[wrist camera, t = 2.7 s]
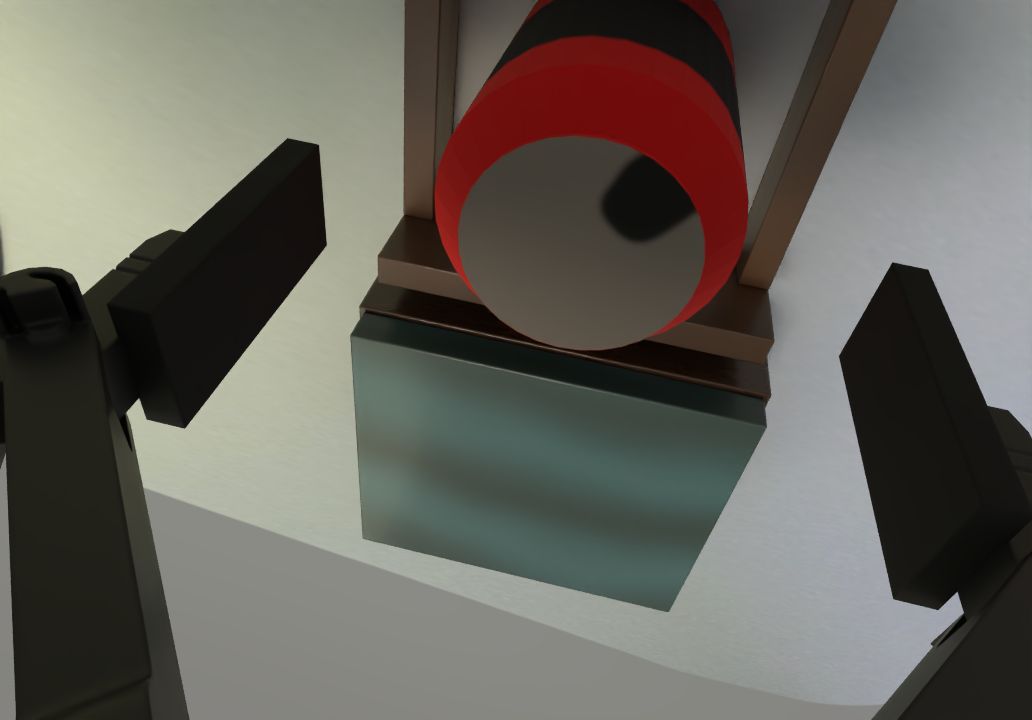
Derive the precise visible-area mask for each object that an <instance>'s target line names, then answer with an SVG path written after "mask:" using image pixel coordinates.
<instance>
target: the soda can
mask: <svg viewBox="0 0 1032 720" xmlns="http://www.w3.org/2000/svg"><path fill="white" fill-rule="evenodd" d="M434 196H435V213H436V222H437V225H438V229H439V233H440V236H441V240H442V244H443V246H444V248H445V250H446V252H447V254H448V256H449V258H450V261H451V263H452V265H453V267H454V268H455V270H456V271H457V272H458V274H459V275H460V277H461V278H462V279H463V281H464V282H465V283H466V285H467V286H468V287H469V289H470V290H471V291H472V292H473V293H474V294H476V295H477V296H478V297H479V298H480V300H481V301H482V302H483V304H484V305H485V306H486V307H487V308H488V309H489V310H490V311H491V312H492V313H493V314H494V315H495V316H496V317H498V318H499V319H500V320H501V321H503V322H504V323H505V324H507V325H508V326H510V327H511V328H513V329H514V330H516V331H517V332H519V333H521V334H523V335H525V336H528V337H530V338H532V339H534V340H536V341H539V342H542V343H545V344H549V345H552V346H555V347H560V348H567V349H573V350H605V349H611V348H617V347H623V346H626V345H629V344H632V343H635V342H638V341H641V340H643V339H645V338H647V337H650V336H653V335H656V334H659V333H662V332H665V331H667V330H669V329H670V328H672V327H674V326H676V325H678V324H680V323H682V322H683V321H685V320H687V319H689V318H690V317H691V316H692V315H694V314H695V313H696V312H697V311H699V310H700V309H701V308H702V307H704V306H705V305H706V304H707V303H709V302H710V300H711V299H712V298H713V297H714V296H715V295H716V293H717V292H718V291H719V290H720V289H721V287H722V286H723V285H724V284H725V283H726V282H727V280H728V278H729V276H730V274H731V272H732V270H733V269H734V267H735V265H736V263H737V261H738V259H739V257H740V254H741V250H742V247H743V243H744V240H745V236H746V233H747V222H748V192H747V183H746V174H745V164H744V155H743V145H742V136H741V127H740V117H739V108H738V98H737V89H736V80H735V70H734V61H733V53H732V47H731V42H730V36H729V31H728V29H727V27H726V24H725V22H724V19H723V17H722V14H721V12H720V10H719V9H718V7H717V6H716V4H715V3H714V1H713V0H538V2H537V3H536V5H535V6H534V8H533V9H532V11H531V12H530V14H529V15H528V17H527V18H526V20H525V21H524V23H523V24H522V26H521V28H520V29H519V31H518V32H517V34H516V35H515V37H514V38H513V40H512V42H511V43H510V45H509V46H508V48H507V49H506V51H505V53H504V54H503V56H502V57H501V59H500V60H499V62H498V63H497V65H496V67H495V68H494V70H493V71H492V73H491V74H490V76H489V78H488V79H487V81H486V82H485V84H484V85H483V87H482V89H481V90H480V92H479V93H478V95H477V96H476V98H475V99H474V101H473V103H472V104H471V106H470V107H469V109H468V110H467V112H466V114H465V115H464V117H463V118H462V120H461V121H460V123H459V125H458V126H457V128H456V129H455V131H454V132H453V134H452V135H451V137H450V139H449V141H448V143H447V146H446V148H445V151H444V153H443V156H442V158H441V161H440V163H439V166H438V172H437V179H436V185H435V191H434Z"/></svg>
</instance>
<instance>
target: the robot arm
mask: <svg viewBox="0 0 1032 720" xmlns="http://www.w3.org/2000/svg"><path fill="white" fill-rule="evenodd" d="M326 246H327V241H326V229H325V216H324V203H323V190H322V178H321V165H320V152H319V145H318V144H313V143H308V142H303V141H298V140H294V139H289V138H287V139H286V140H285V141H284V142H283V143H282V144H281V145H280V146H279V147H277V148H276V149H275V150H274V151H273V152H272V153H271V154H270V155H269V156H268V157H267V158H265V159H264V160H263V161H262V162H261V163H260V164H259V165H258V166H257V167H256V168H255V169H253V170H252V171H251V172H250V173H249V174H248V175H247V176H246V177H245V178H244V179H242V180H241V181H240V182H239V183H238V184H237V185H236V186H235V187H234V188H233V189H232V190H230V191H229V192H228V193H227V194H226V195H225V196H224V197H223V198H222V199H221V200H220V201H218V202H217V203H216V204H215V205H214V206H213V207H212V208H211V209H210V210H209V211H207V212H206V213H205V214H204V215H203V216H202V217H201V218H200V219H199V220H198V221H197V222H195V223H194V224H193V225H192V226H191V227H190V228H189V229H188V230H187V231H186V232H181V231H176V230H172V229H170V230H168V231H166V232H163V233H161V234H159V235H157V236H154V237H152V238H150V239H148V240H146V241H145V242H144V243H142V244H141V245H140V246H139V247H138V248H137V249H136V250H134V251H133V252H132V253H131V254H130V257H129V258H127V257H126V258H125V259H124V260H123V261H122V262H120V263H119V264H118V265H117V266H116V270H114V269H112V270H111V271H110V272H109V273H108V274H107V275H105V276H104V277H103V278H102V279H101V280H100V281H99V282H97V283H96V284H95V285H94V286H93V287H92V288H90V289H89V290H88V291H87V292H86V293H85V294H84V295H82V294H81V291H80V289H79V286H78V283H77V281H76V280H75V278H74V276H73V275H72V274H70V273H68V272H66V271H64V270H62V269H58V268H51V267H37V268H27V269H23V270H19V271H15V272H12V273H9V274H7V275H5V276H3V277H1V278H0V468H1V465H2V462H3V459H4V456H5V453H6V468H7V492H8V493H7V494H8V520H9V545H10V570H11V596H12V623H13V645H14V646H13V648H14V673H15V700H16V720H189V715H188V710H187V706H186V700H185V695H184V690H183V685H182V680H181V675H180V670H179V665H178V660H177V655H176V650H175V645H174V640H173V636H172V630H171V625H170V620H169V615H168V610H167V605H166V600H165V596H164V590H163V585H162V580H161V575H160V570H159V565H158V560H157V555H156V550H155V545H154V540H153V535H152V530H151V525H150V520H149V515H148V510H147V505H146V500H145V495H144V490H143V485H142V480H141V475H140V470H139V465H138V460H137V455H136V450H135V445H134V440H133V435H132V430H131V425H130V422H129V419H128V416H127V414H126V412H127V411H128V410H129V409H130V408H131V406H132V405H133V404H134V403H135V402H136V401H137V400H138V398H139V399H140V401H141V404H142V407H143V410H144V413H145V416H146V419H147V420H151V421H155V422H159V423H164V424H168V425H172V426H176V427H180V428H184V429H185V428H186V427H187V425H188V424H189V423H190V421H191V420H192V419H193V418H194V416H195V415H196V414H197V412H198V411H199V410H200V408H201V407H202V406H203V405H204V403H205V402H206V401H207V399H208V398H209V397H210V396H211V394H212V393H213V392H214V390H215V389H216V388H217V387H218V385H219V384H220V383H221V381H222V380H223V379H224V377H225V376H226V375H227V374H228V372H229V371H230V370H231V368H232V367H233V366H234V365H235V363H236V362H237V361H238V359H239V358H240V357H241V356H242V354H243V353H244V352H245V350H246V349H247V348H248V346H249V345H250V344H251V343H252V341H253V340H254V339H255V337H256V336H257V335H258V334H259V332H260V331H261V330H262V328H263V327H264V326H265V324H266V323H267V322H268V321H269V319H270V318H271V317H272V315H273V314H274V313H275V312H276V310H277V309H278V308H279V306H280V305H281V304H282V303H283V301H284V300H285V299H286V297H287V296H288V295H289V293H290V292H291V291H292V290H293V288H294V287H295V286H296V284H297V283H298V282H299V281H300V279H301V278H302V277H303V275H304V274H305V273H306V272H307V270H308V269H309V268H310V266H311V265H312V264H313V262H314V261H315V260H316V259H317V257H318V256H319V255H320V253H321V252H322V251H323V250H324V248H325V247H326ZM839 358H840V363H841V367H842V372H843V376H844V381H845V385H846V390H847V394H848V399H849V403H850V408H851V412H852V416H853V421H854V425H855V430H856V434H857V439H858V443H859V448H860V452H861V457H862V461H863V466H864V470H865V475H866V479H867V484H868V488H869V493H870V497H871V501H872V506H873V510H874V515H875V519H876V524H877V528H878V533H879V537H880V542H881V546H882V551H883V555H884V560H885V564H886V569H887V573H888V578H889V582H890V587H891V591H892V595H893V599H895V600H899V601H903V602H907V603H911V604H915V605H920V606H924V607H928V608H932V609H936V610H939V609H940V608H941V607H942V606H943V605H944V604H945V603H946V602H947V601H948V600H949V599H950V598H951V597H952V596H953V595H954V594H955V593H956V592H957V591H958V595H959V598H960V601H961V604H962V608H963V611H964V613H963V614H962V615H961V616H960V617H959V618H958V619H957V620H956V621H955V622H954V623H952V624H951V625H950V626H949V627H948V628H947V629H946V630H945V631H944V632H943V633H942V634H940V635H939V636H938V637H937V638H936V639H935V640H934V641H933V642H932V643H931V645H932V646H933V647H932V649H931V650H930V651H929V652H928V653H927V654H926V656H925V657H924V658H923V659H922V660H921V662H920V663H919V664H918V665H917V666H916V667H915V669H914V670H913V671H912V672H911V673H910V675H909V676H908V677H907V678H906V679H905V681H904V682H903V683H902V684H901V685H900V686H899V688H898V689H897V690H896V691H895V692H894V694H893V695H892V696H891V697H890V698H889V699H888V701H887V702H886V703H885V704H884V705H883V707H882V708H881V709H880V710H879V711H878V712H877V714H876V715H875V716H874V717H873V718H872V720H1032V438H1031V436H1030V434H1029V432H1028V431H1027V430H1026V429H1025V428H1024V427H1023V426H1022V425H1021V424H1020V423H1019V421H1018V420H1017V419H1016V418H1015V417H1014V416H1013V415H1012V414H1011V413H1010V412H1009V411H1008V410H1004V409H999V408H995V407H990V406H987V404H986V401H985V399H984V397H983V395H982V392H981V390H980V388H979V385H978V383H977V381H976V378H975V376H974V374H973V372H972V369H971V367H970V365H969V362H968V360H967V358H966V355H965V353H964V351H963V349H962V346H961V344H960V342H959V339H958V337H957V335H956V332H955V330H954V328H953V326H952V323H951V321H950V319H949V316H948V314H947V312H946V309H945V307H944V305H943V303H942V300H941V298H940V296H939V293H938V291H937V289H936V286H935V284H934V282H933V280H932V277H931V275H930V273H929V270H927V269H922V268H917V267H912V266H907V265H902V264H898V263H893V262H892V264H891V266H890V268H889V269H888V271H887V273H886V275H885V276H884V278H883V280H882V282H881V283H880V285H879V287H878V289H877V290H876V292H875V294H874V296H873V297H872V299H871V301H870V303H869V304H868V306H867V308H866V310H865V311H864V313H863V315H862V317H861V318H860V320H859V322H858V324H857V325H856V327H855V329H854V331H853V332H852V334H851V336H850V338H849V340H848V341H847V343H846V345H845V347H844V348H843V350H842V352H841V354H840V355H839Z"/></svg>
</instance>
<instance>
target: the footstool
mask: <svg viewBox="0 0 1032 720" xmlns="http://www.w3.org/2000/svg"><path fill="white" fill-rule="evenodd" d="M359 307H360V320H359V322H358V323H357V325H356V327H355V328H354V330H353V332H352V333H351V335H350V337H351V353H352V370H353V386H354V402H355V419H356V435H357V451H358V468H359V484H360V500H361V517H362V533H363V539H366V540H370V541H374V542H378V543H383V544H387V545H391V546H395V547H399V548H403V549H407V550H412V551H416V552H420V553H424V554H428V555H432V556H437V557H441V558H445V559H449V560H453V561H457V562H461V563H466V564H470V565H474V566H478V567H482V568H486V569H491V570H495V571H499V572H503V573H507V574H511V575H515V576H520V577H524V578H528V579H532V580H536V581H540V582H544V583H549V584H553V585H557V586H561V587H565V588H569V589H574V590H578V591H582V592H586V593H590V594H594V595H598V596H603V597H607V598H611V599H615V600H619V601H623V602H628V603H632V604H636V605H640V606H644V607H648V608H652V609H657V610H661V611H665V612H669V611H670V609H671V607H672V605H673V603H674V601H675V599H676V597H677V596H678V594H679V592H680V590H681V588H682V586H683V584H684V582H685V580H686V579H687V577H688V575H689V573H690V571H691V569H692V567H693V565H694V563H695V562H696V560H697V558H698V556H699V554H700V552H701V550H702V548H703V546H704V545H705V543H706V541H707V539H708V537H709V535H710V533H711V531H712V529H713V528H714V526H715V524H716V522H717V520H718V518H719V516H720V514H721V512H722V511H723V509H724V507H725V505H726V503H727V501H728V499H729V497H730V495H731V494H732V492H733V490H734V488H735V486H736V484H737V482H738V480H739V478H740V477H741V475H742V473H743V471H744V469H745V467H746V465H747V463H748V462H749V460H750V458H751V456H752V454H753V452H754V450H755V448H756V446H757V445H758V443H759V441H760V439H761V437H762V435H763V433H764V431H765V429H766V428H767V424H766V414H765V407H766V405H767V403H768V401H769V399H770V397H771V389H770V380H769V371H768V361H767V357H766V359H765V361H764V363H763V364H757V363H752V362H748V361H743V360H738V359H734V358H729V357H724V356H720V355H715V354H710V353H706V352H701V351H696V350H692V349H687V348H682V347H678V346H673V345H668V344H664V343H659V342H654V341H650V340H645V339H643V340H641V341H638V342H635V343H632V344H629V345H626V346H623V347H617V348H611V349H605V350H573V349H567V348H560V347H555V346H552V345H549V344H545V343H542V342H539V341H536V340H534V339H532V338H530V337H528V336H525V335H523V334H521V333H519V332H517V331H516V330H514V329H513V328H511V327H510V326H508V325H507V324H505V323H504V322H503V321H501V320H500V319H499V318H498V317H496V316H495V315H494V314H493V313H492V312H491V311H490V310H489V309H488V308H487V307H486V306H485V305H481V304H477V303H472V302H467V301H463V300H458V299H453V298H449V297H444V296H439V295H435V294H430V293H425V292H421V291H416V290H411V289H407V288H402V287H397V286H393V285H388V284H383V283H379V282H378V277H377V278H376V280H375V281H374V283H373V285H372V286H371V288H370V290H369V291H368V293H367V295H366V296H365V298H364V300H363V301H362V303H361V304H360V306H359Z"/></svg>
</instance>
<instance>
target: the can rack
mask: <svg viewBox="0 0 1032 720" xmlns="http://www.w3.org/2000/svg"><path fill="white" fill-rule="evenodd" d="M897 1H898V0H831V3H830V5H829V8H828V11H827V13H826V16H825V18H824V21H823V24H822V26H821V29H820V31H819V34H818V37H817V39H816V42H815V44H814V47H813V50H812V52H811V55H810V57H809V60H808V62H807V65H806V68H805V70H804V73H803V75H802V78H801V81H800V83H799V86H798V88H797V91H796V94H795V96H794V99H793V101H792V104H791V107H790V109H789V112H788V114H787V117H786V119H785V122H784V125H783V127H782V130H781V132H780V135H779V138H778V140H777V143H776V145H775V148H774V151H773V153H772V156H771V158H770V161H769V164H768V166H767V169H766V171H765V174H764V176H763V179H762V182H761V184H760V187H759V189H758V192H757V195H756V197H755V200H754V202H753V205H752V208H751V210H750V213H749V215H748V222H747V233H746V236H745V240H744V243H743V247H742V250H741V254H740V257H739V259H738V261H737V263H736V265H735V267H734V269H733V270H732V272H731V274H730V276H729V278H728V280H727V282H726V283H725V284H724V285H723V286H722V287H721V289H720V290H719V291H718V292H717V293H716V295H715V296H714V297H713V298H712V299H711V300H710V302H709V303H707V304H706V305H705V306H704V307H702V308H701V309H700V310H699V311H697V312H696V313H695V314H694V315H692V316H691V317H690V318H689V319H687V320H685V321H683V322H682V323H680V324H678V325H676V326H674V327H672V328H670V329H669V330H667V331H665V332H662V333H659V334H656V335H653V336H650V337H647V338H645V340H650V341H654V342H659V343H664V344H668V345H673V346H678V347H682V348H687V349H692V350H696V351H701V352H706V353H710V354H715V355H720V356H724V357H729V358H734V359H738V360H743V361H748V362H752V363H757V364H763V363H764V361H765V359H766V357H767V355H768V353H769V351H770V349H771V347H772V345H773V343H774V333H773V325H772V317H771V309H770V301H769V294H768V290H769V288H770V286H771V284H772V281H773V279H774V277H775V275H776V272H777V270H778V268H779V266H780V264H781V261H782V259H783V257H784V255H785V252H786V250H787V248H788V246H789V243H790V241H791V239H792V237H793V234H794V232H795V230H796V228H797V225H798V223H799V221H800V219H801V216H802V214H803V212H804V210H805V207H806V205H807V203H808V201H809V198H810V196H811V194H812V192H813V189H814V187H815V185H816V183H817V180H818V178H819V176H820V174H821V171H822V169H823V167H824V165H825V162H826V160H827V158H828V156H829V153H830V151H831V149H832V147H833V144H834V142H835V140H836V138H837V135H838V133H839V131H840V129H841V126H842V124H843V122H844V120H845V117H846V115H847V113H848V111H849V108H850V106H851V104H852V102H853V99H854V97H855V95H856V93H857V90H858V88H859V86H860V84H861V81H862V79H863V77H864V75H865V72H866V70H867V68H868V66H869V63H870V61H871V59H872V57H873V54H874V52H875V50H876V48H877V45H878V43H879V41H880V39H881V36H882V34H883V32H884V30H885V27H886V25H887V23H888V21H889V18H890V16H891V14H892V12H893V10H894V7H895V5H896V3H897ZM458 14H459V0H405V48H404V216H403V217H402V219H401V220H400V222H399V224H398V225H397V227H396V228H395V230H394V232H393V233H392V235H391V236H390V238H389V239H388V241H387V243H386V244H385V246H384V247H383V249H382V251H381V252H380V254H379V255H378V282H379V283H383V284H388V285H393V286H397V287H402V288H407V289H411V290H416V291H421V292H425V293H430V294H435V295H439V296H444V297H449V298H453V299H458V300H463V301H467V302H472V303H477V304H481V305H484V304H483V302H482V301H481V300H480V298H479V297H478V296H477V295H476V294H474V293H473V292H472V291H471V290H470V289H469V287H468V286H467V285H466V283H465V282H464V281H463V279H462V278H461V277H460V275H459V274H458V272H457V271H456V270H455V268H454V267H453V265H452V263H451V261H450V258H449V256H448V254H447V252H446V250H445V248H444V246H443V244H442V240H441V236H440V233H439V229H438V225H437V222H436V213H435V196H434V191H435V185H436V179H437V172H438V166H439V163H440V161H441V158H442V156H443V153H444V151H445V148H446V146H447V143H448V141H449V139H450V137H451V135H452V125H453V107H454V88H455V70H456V51H457V33H458Z"/></svg>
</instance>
